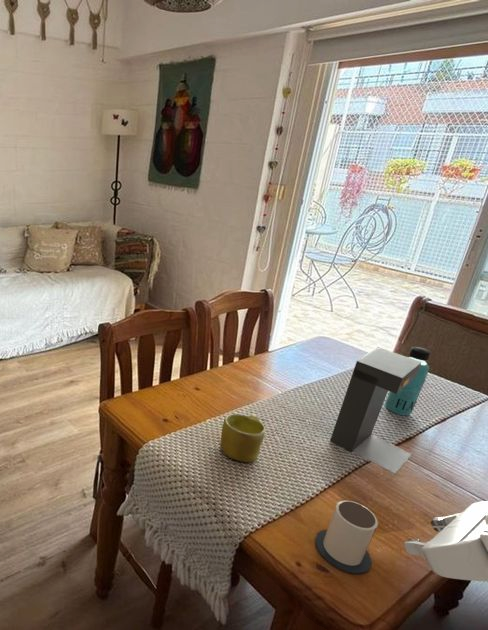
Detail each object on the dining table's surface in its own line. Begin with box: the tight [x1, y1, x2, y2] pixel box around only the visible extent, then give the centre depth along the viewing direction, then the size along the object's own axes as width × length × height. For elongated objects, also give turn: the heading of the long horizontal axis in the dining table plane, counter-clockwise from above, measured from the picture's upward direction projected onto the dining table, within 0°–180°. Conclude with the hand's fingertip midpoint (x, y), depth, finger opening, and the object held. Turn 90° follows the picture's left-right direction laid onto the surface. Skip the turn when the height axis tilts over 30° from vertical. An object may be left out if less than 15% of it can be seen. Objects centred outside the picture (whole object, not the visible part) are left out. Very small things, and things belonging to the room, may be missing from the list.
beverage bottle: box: [384, 346, 431, 416], centre depth 118 cm, size 6×7×20 cm
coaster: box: [314, 529, 372, 575], centre depth 81 cm, size 9×9×1 cm
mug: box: [220, 413, 266, 463], centre depth 105 cm, size 12×10×10 cm
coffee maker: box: [329, 346, 422, 475], centre depth 102 cm, size 14×12×24 cm
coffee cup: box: [323, 500, 379, 566], centre depth 79 cm, size 6×6×9 cm
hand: (421, 535), depth 71 cm, fingers open, 8 cm apart
